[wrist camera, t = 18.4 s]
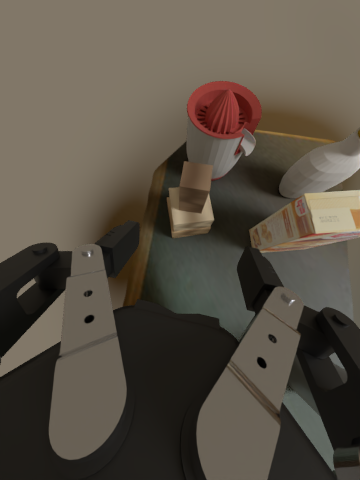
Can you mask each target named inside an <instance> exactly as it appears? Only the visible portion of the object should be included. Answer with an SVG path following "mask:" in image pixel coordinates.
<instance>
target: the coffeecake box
mask: <svg viewBox="0 0 360 480" xmlns="http://www.w3.org/2000/svg"><path fill="white" fill-rule="evenodd" d="M249 233H250V238H251V245H252V247H253V248H257V249H259V251H260V252H261V253H263V252H277V251H289V250H301V249H307V248H312V247H316V246H321V245H325V244H330V243H335V242H339V241H344V240H349V239H353V238H358V237H360V190H353V191H337V192H320V193H304V194H303V195H302V196H300V197H299V198H297V199H296V200H294V201H293V202H291V203H289V204H288V205H286V206H285V207H283V208H282V209H280V210H279V211H277V212H276V213H274V214H273V215H271V216H270V217H268V218H266V219H265V220H263V221H262V222H260V223H259V224H257V225H256V226H254V227H253V228H251V229H249Z"/></svg>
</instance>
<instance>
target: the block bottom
mask: <svg viewBox="0 0 360 480" xmlns="http://www.w3.org/2000/svg"><path fill="white" fill-rule="evenodd" d="M167 204H168V211H169V218H170V225H171V232H172V238H178V237H185V236H192V235H199V234H205V233H208V232H209V230H210V229H211V226H210V227H206V228H199V229H191V230H183V231H175V232H174V226H173V219H172V211H171V203H170V197H167Z"/></svg>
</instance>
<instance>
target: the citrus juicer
mask: <svg viewBox="0 0 360 480" xmlns="http://www.w3.org/2000/svg"><path fill="white" fill-rule="evenodd" d="M187 112H188V126H187V156H188V161H189V162H193V163H200V164H206V165H213V169H212V177H211V181H214V180H217V179H220V178H221V177H223V176H224V175H226V174H227V173H228V172H229V170H230V169H232V167H233V166H234V165H235V163H236V162H237V161H238V159H239V157H240V156H241V154H242V153H243V154H244V155H245V156H248V155H249V154H250V153H251V152H252V151H253V149H254V147H255V143H256V140H255V138H254V137H253V136H252V135H253V133H254V131H255V129H256V127H257V125H258V123H259V121H260V119H261V113H262V112H261V105H260V103H259V100H258V99H257V97H256V96H255V95H254V94H253V93H252V92H251V91H250V90H248V89H247V88H246V87H244V86H241V85H239V84H236V83H233V82H227V81H216V82H211V83H207V84H205V85H203V86H201V87H199V88H198V89H196V90H195V91H194V92H193V93H192V95H191V96H190V98H189V101H188V104H187Z"/></svg>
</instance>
